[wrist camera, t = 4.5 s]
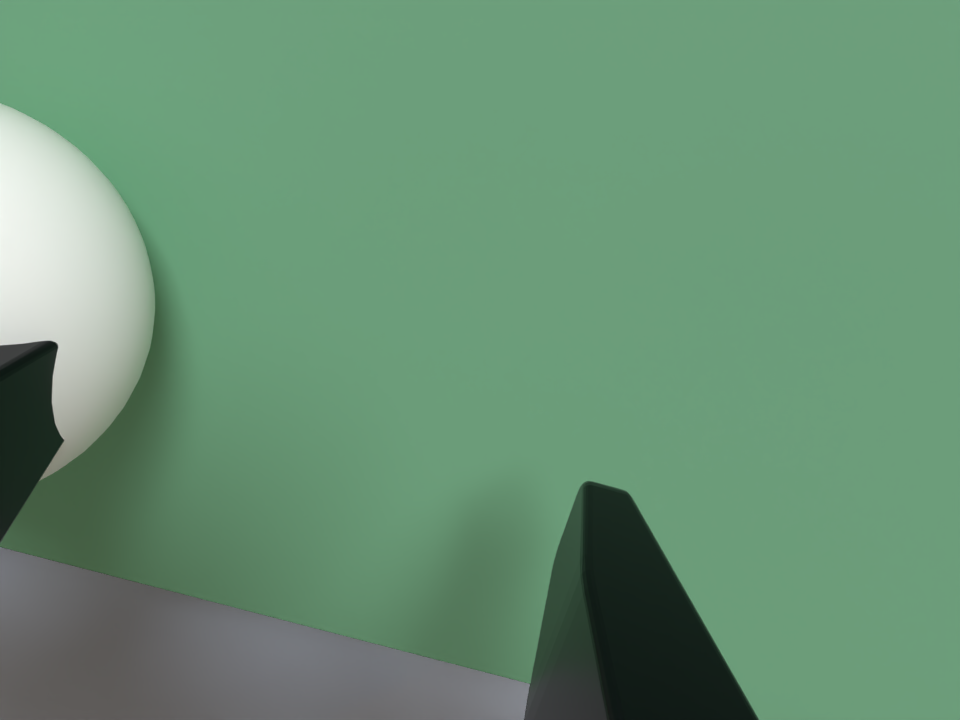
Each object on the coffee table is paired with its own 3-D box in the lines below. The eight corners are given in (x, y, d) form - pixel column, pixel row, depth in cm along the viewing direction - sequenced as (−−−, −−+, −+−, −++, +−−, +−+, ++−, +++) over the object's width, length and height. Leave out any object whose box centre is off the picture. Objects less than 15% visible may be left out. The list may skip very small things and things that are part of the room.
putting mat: (1392, -15, 10) (2202, 159, 5) (924, 641, 16) (1068, 1035, 11) (-747, -559, 10) (-2159, -950, 5) (-430, 293, 16) (-929, 517, 11)
